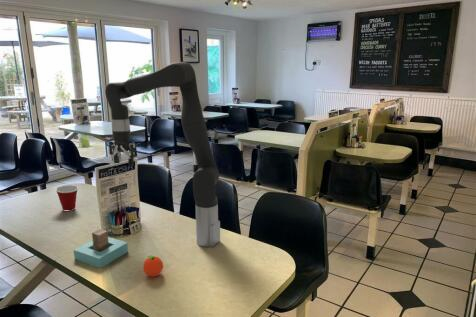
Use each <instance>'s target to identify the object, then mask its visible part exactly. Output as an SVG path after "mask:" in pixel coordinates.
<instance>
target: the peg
mask: <svg viewBox="0 0 476 317" xmlns="http://www.w3.org/2000/svg"><path fill="white" fill-rule="evenodd" d="M108 237H109V233H108V230H105V229H101V228H99V229H97V230H95V231H93V232H91V238H92V240H93V247H94V250H95V251H98V252H101V251H103V250H105V249H107V248H109V242H108Z"/></svg>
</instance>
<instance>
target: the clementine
mask: <svg viewBox="0 0 476 317" xmlns="http://www.w3.org/2000/svg"><path fill="white" fill-rule="evenodd" d="M142 266H143V267H142V269H143V272H144V274H145V275H146V276H148V277H151V278H152V277H153V278H154V277H156V276H159V275H160V274H161V273H162V271H163V268H164V263H163V260H162V259H161V257H158V256H156V255H151V254H150V255H148V256H147V258H146V259H145V260H144V262H143V265H142Z"/></svg>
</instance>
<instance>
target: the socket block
mask: <svg viewBox="0 0 476 317" xmlns="http://www.w3.org/2000/svg"><path fill="white" fill-rule="evenodd" d="M108 242H109V248H107V249H105V250H103V251H101V252H98V251H95V250H94V247H93V239H92V240H91V241H88V242H87V243H84V244H82V245H80V246H78V247H76V248H75V249H73V256H74V260H76V261H79V262H80V263H81V262H82V263H84V264H87V265H89V266H93V267H96V268H98V269H102V268H103V267H106V266H107V265H109V264H110V263H111V262H114V260H116V259H118V258H120V257H122V256H123V255H124V254H126V253H128V252H129V247H128V242H126V241H123V240H120V239H117V238H112V237H110V236H108Z"/></svg>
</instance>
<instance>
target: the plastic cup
mask: <svg viewBox="0 0 476 317" xmlns="http://www.w3.org/2000/svg"><path fill="white" fill-rule="evenodd" d="M78 190H79V187H78V186H77V185H71V184H69V185H67V184H65V185H61V186H58V187H56V188H55V191H56V193H57V196H58V200H59V203H60V205H61V208H62V210H72V209H74V208H75V209H76V202H77V193H78ZM75 209H74V210H75ZM72 211H73V210H72Z"/></svg>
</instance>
